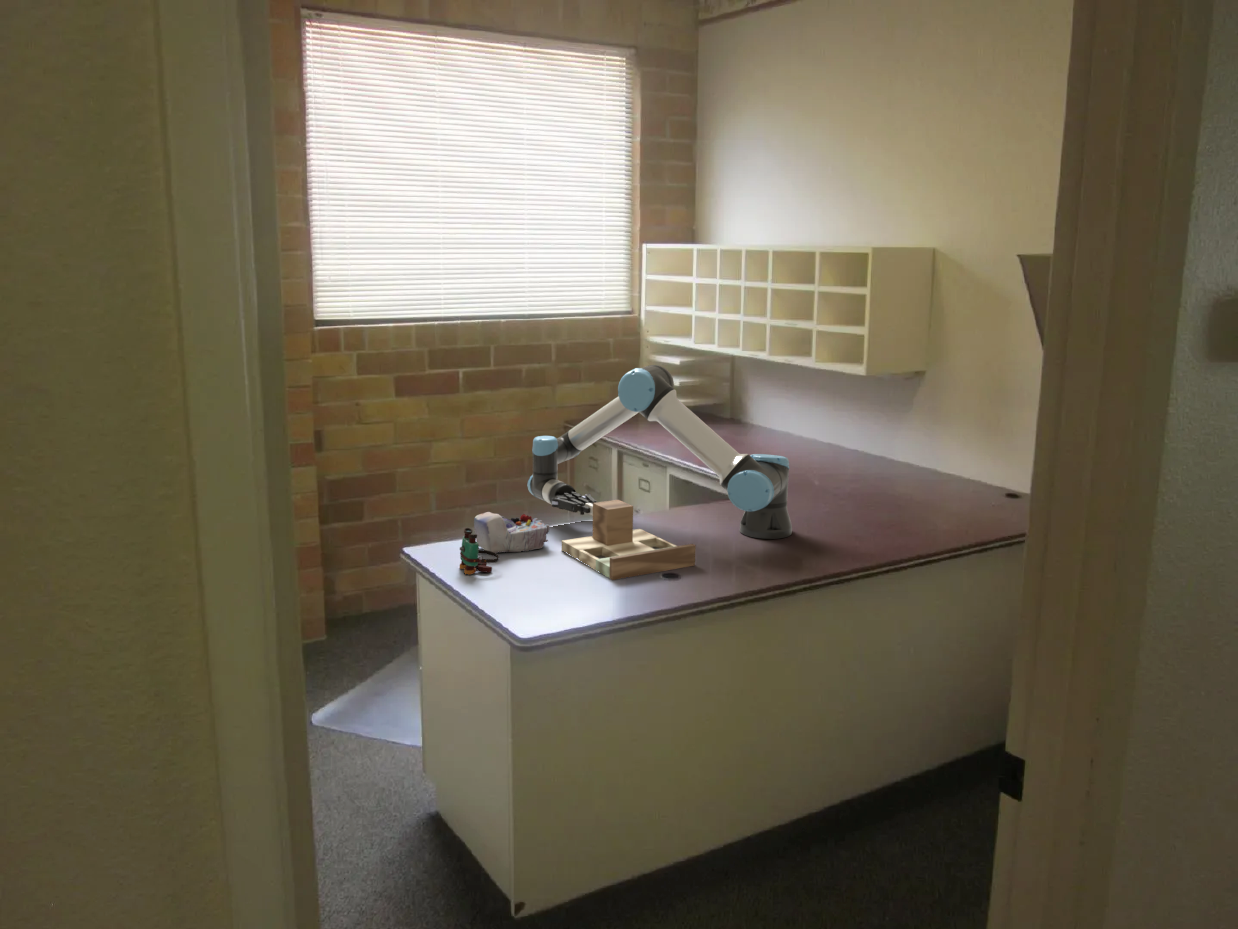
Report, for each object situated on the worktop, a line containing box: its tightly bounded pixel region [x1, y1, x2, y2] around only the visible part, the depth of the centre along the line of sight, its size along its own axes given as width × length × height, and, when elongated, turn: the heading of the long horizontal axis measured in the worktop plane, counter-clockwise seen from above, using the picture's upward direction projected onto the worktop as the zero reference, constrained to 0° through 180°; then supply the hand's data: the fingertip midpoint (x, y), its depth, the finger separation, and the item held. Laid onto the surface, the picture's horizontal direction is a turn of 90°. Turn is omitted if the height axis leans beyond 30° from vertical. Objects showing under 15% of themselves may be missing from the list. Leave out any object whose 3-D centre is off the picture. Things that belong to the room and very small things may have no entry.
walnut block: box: [592, 499, 634, 546], centre depth 272 cm, size 8×8×10 cm
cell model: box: [473, 511, 550, 554], centre depth 274 cm, size 13×11×20 cm
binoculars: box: [459, 527, 500, 576], centre depth 255 cm, size 9×11×10 cm
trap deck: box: [561, 528, 696, 581], centre depth 267 cm, size 28×25×6 cm
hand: (598, 512), depth 278 cm, fingers closed
